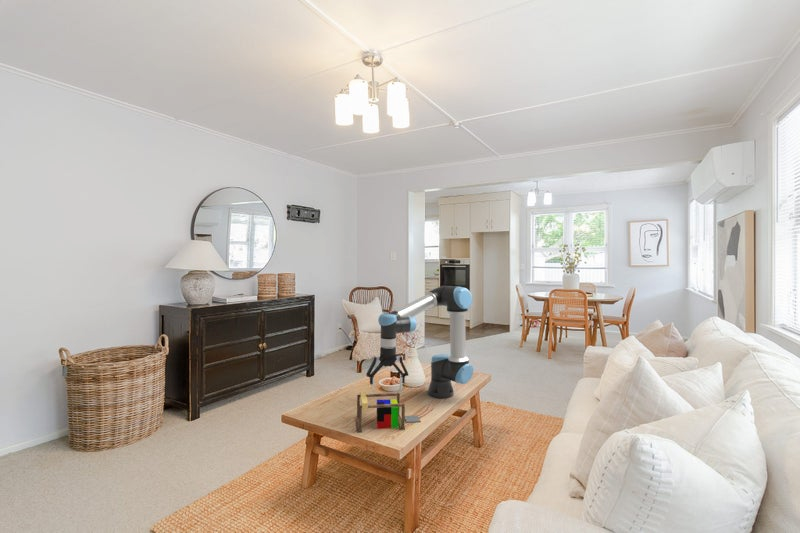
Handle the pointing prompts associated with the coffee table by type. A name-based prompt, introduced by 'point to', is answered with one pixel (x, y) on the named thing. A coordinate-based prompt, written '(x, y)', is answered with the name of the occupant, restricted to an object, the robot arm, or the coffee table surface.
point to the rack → (359, 408)
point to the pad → (412, 419)
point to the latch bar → (364, 399)
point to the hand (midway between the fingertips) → (387, 390)
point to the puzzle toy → (387, 414)
